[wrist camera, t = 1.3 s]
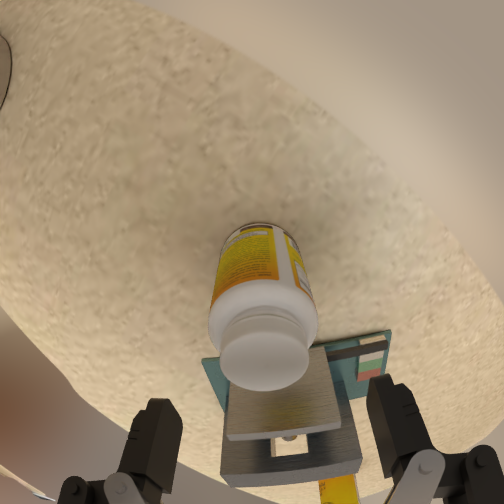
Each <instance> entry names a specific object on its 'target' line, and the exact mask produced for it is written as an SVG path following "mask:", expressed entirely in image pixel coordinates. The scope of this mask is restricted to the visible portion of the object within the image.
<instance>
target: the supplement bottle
mask: <svg viewBox="0 0 504 504" xmlns="http://www.w3.org/2000/svg"><path fill="white" fill-rule="evenodd" d="M317 331H318V315H317V310H316V307H315V303H314V300H313V296H312V293H311V289H310V286H309V282H308V278H307V275H306V272H305V268H304V265H303V262H302V258H301V255H300V252H299V249H298V246H297V244H296V243H295V241H294V239H293V238H292V237H291V236H290V235H289V234H288V233H287V232H286V231H284V230H283V229H281V228H279V227H277V226H274V225H270V224H263V223H259V224H251V225H247V226H244V227H242V228H240V229H238V230H237V231H235V232H234V233H233V234H232V235H231V236H230V237H229V238H228V239H227V241H226V242H225V244H224V246H223V249H222V252H221V256H220V261H219V266H218V270H217V276H216V281H215V285H214V291H213V296H212V301H211V307H210V312H209V317H208V332H209V336H210V339H211V341H212V343H213V345H214V346H215V348H216V349H217V350H218V351H219V352H220V368H221V370H222V372H223V374H224V375H225V377H226V378H227V379H228V380H230V381H231V382H232V383H234V384H235V385H237V386H240V387H242V388H245V389H248V390H253V391H272V390H278V389H282V388H285V387H287V386H289V385H291V384H293V383H294V382H296V381H297V380H299V379H300V378H301V377H302V376H303V374H304V373H305V372H306V370H307V368H308V364H309V353H308V349H309V347H310V346H311V345H312V343H313V341H314V339H315V337H316V335H317Z"/></svg>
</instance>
